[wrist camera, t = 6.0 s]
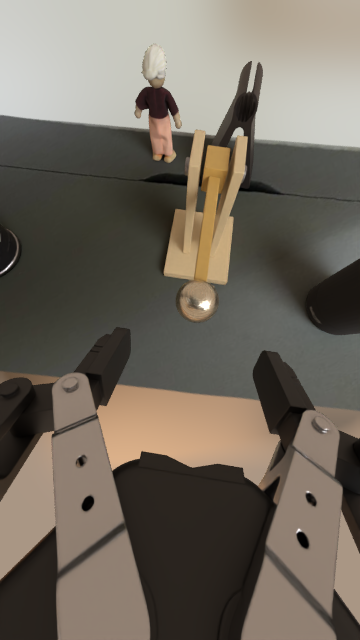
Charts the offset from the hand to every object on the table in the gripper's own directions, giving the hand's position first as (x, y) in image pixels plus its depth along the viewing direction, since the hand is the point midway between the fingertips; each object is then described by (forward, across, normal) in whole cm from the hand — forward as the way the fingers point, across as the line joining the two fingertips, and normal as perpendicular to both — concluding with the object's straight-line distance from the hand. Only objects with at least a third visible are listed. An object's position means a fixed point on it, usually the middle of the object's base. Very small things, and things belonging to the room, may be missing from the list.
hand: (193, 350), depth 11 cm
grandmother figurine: (+38, +10, -14) cm, 42 cm away
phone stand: (+37, -3, -13) cm, 39 cm away
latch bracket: (+24, 0, -1) cm, 25 cm away
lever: (+12, 0, -4) cm, 12 cm away
